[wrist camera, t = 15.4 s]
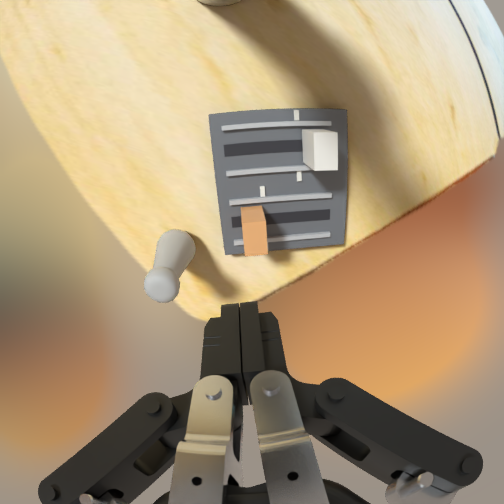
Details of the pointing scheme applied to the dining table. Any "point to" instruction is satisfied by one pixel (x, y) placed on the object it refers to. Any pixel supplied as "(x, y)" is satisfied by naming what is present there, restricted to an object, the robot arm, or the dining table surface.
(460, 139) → the dining table surface
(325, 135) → the fader
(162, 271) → the salt shaker
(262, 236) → the block
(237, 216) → the console
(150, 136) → the dining table surface
